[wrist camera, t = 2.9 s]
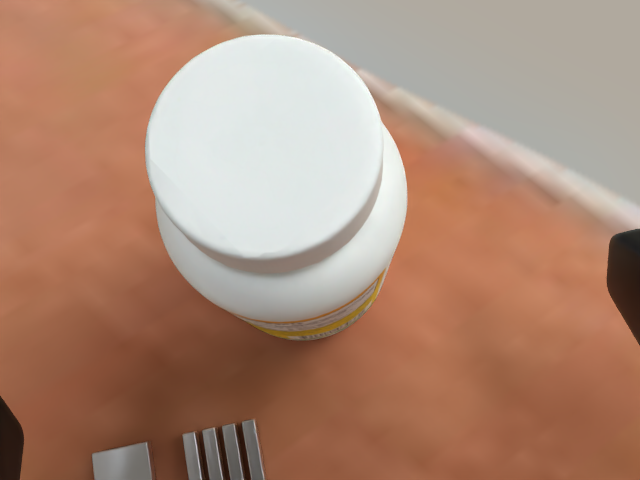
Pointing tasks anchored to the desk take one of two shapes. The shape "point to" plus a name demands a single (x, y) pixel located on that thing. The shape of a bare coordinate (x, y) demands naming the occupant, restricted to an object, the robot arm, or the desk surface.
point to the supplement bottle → (276, 184)
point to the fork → (232, 452)
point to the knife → (125, 463)
